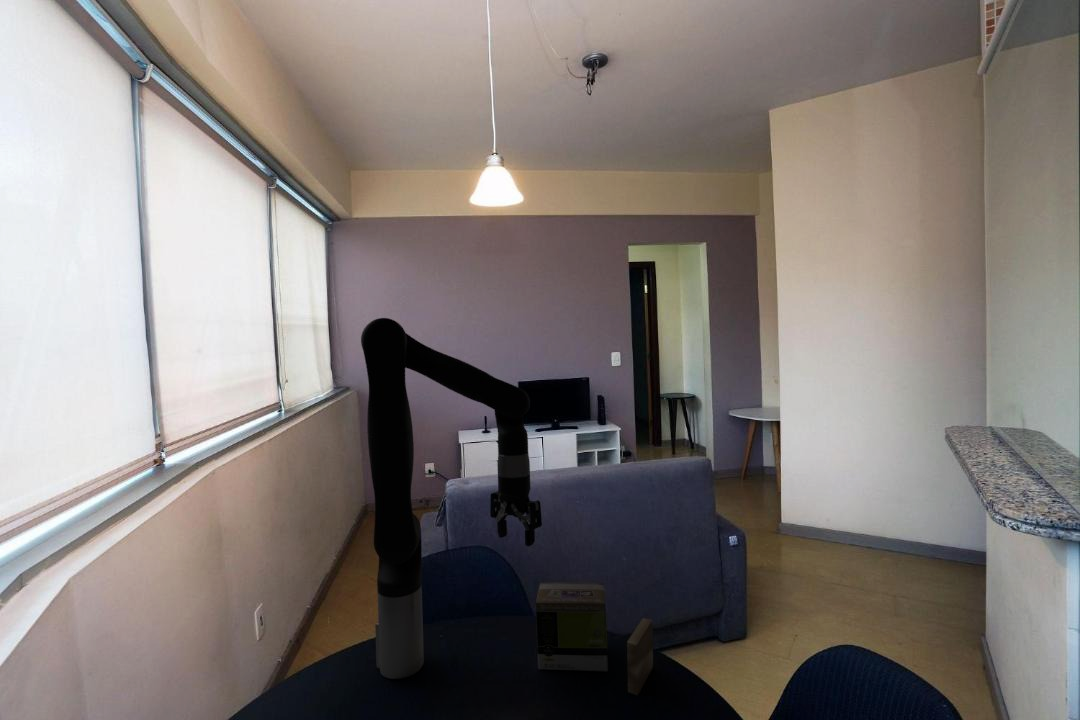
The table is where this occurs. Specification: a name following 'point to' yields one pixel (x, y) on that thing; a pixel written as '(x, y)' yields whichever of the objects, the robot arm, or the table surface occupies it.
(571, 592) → the tea box
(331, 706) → the table surface
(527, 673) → the table surface
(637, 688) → the birch board
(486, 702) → the table surface
